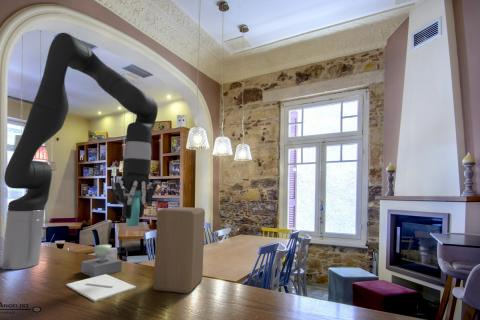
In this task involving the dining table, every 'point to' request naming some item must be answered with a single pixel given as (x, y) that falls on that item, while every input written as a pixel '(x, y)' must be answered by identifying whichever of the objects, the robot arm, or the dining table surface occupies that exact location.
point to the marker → (135, 209)
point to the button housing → (101, 266)
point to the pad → (100, 287)
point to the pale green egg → (102, 252)
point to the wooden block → (179, 249)
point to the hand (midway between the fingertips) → (133, 217)
